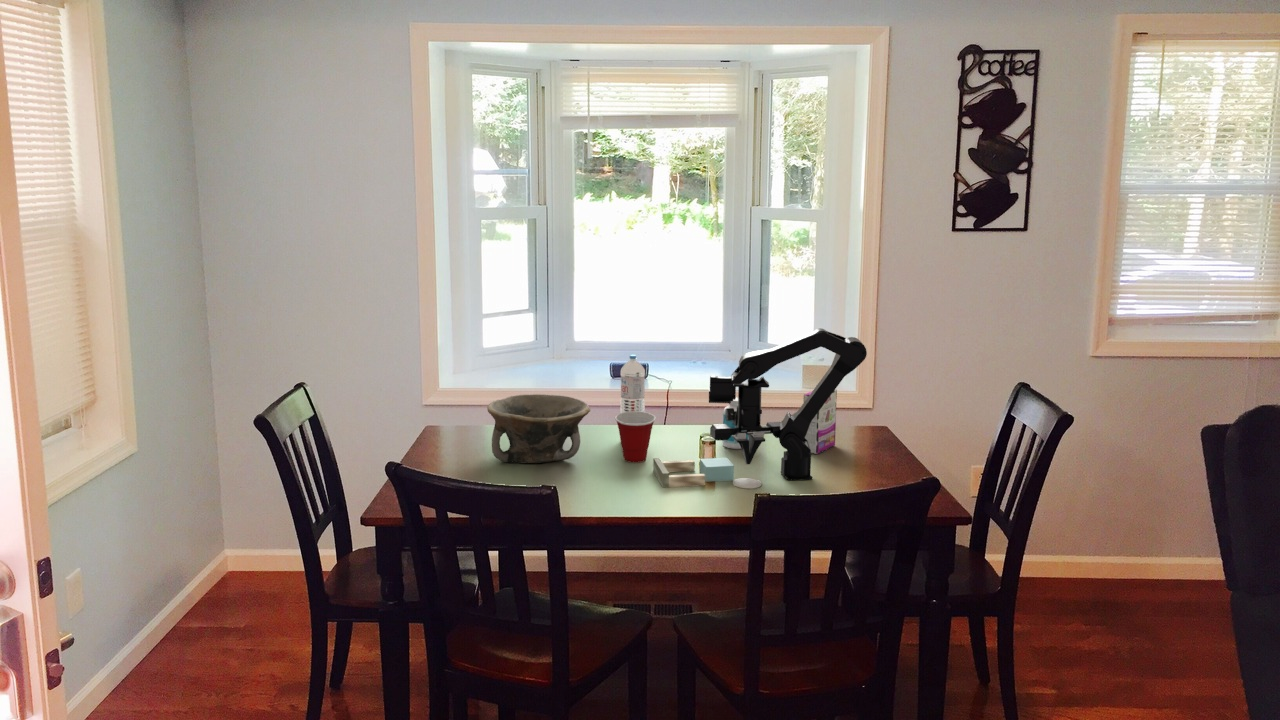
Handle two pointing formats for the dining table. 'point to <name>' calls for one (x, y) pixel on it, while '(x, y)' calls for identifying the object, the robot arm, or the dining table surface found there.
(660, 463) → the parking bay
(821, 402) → the robot arm
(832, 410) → the candy bar box
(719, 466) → the block
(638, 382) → the water bottle
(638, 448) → the plastic cup
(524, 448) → the bowl
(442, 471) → the dining table surface
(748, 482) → the pad
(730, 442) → the pill bottle
